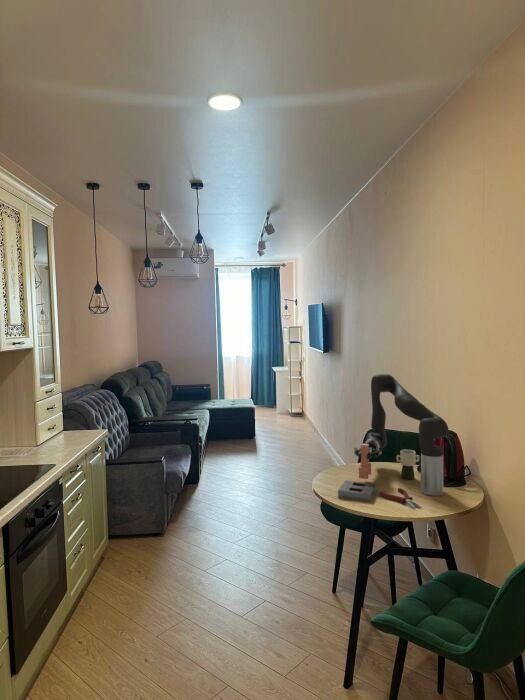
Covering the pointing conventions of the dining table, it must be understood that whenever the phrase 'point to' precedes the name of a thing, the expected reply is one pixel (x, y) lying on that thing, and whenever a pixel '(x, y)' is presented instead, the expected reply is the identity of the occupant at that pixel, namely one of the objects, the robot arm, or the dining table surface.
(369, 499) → the grey socket board
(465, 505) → the dining table surface
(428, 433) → the robot arm
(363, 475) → the pink tall block
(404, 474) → the character mug
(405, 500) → the pliers
